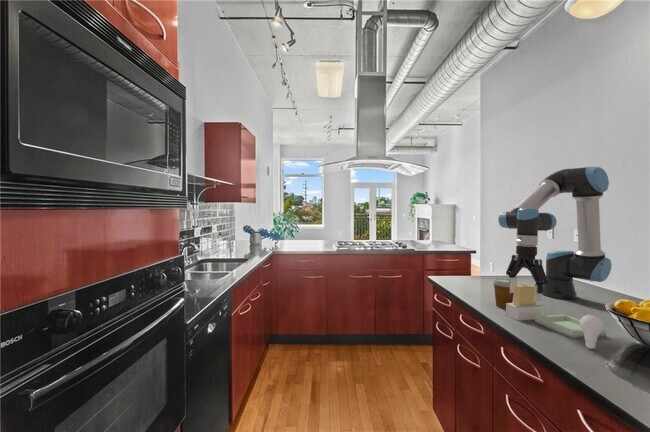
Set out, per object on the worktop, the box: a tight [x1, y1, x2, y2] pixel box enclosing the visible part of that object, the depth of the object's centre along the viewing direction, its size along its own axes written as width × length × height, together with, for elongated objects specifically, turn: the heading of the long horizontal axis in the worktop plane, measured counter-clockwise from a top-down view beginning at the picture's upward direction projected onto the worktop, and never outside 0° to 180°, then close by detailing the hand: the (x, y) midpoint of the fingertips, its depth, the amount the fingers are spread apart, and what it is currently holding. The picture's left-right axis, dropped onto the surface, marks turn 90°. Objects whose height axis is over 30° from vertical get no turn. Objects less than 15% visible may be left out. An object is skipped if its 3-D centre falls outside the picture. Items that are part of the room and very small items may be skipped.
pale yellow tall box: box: [513, 284, 537, 306], centre depth 145 cm, size 8×3×13 cm, turn 101°
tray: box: [534, 314, 607, 339], centre depth 132 cm, size 14×17×2 cm
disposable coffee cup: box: [492, 277, 514, 309], centre depth 160 cm, size 10×10×12 cm
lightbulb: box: [579, 314, 604, 350], centre depth 113 cm, size 6×6×11 cm
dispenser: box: [505, 302, 545, 321], centre depth 145 cm, size 12×7×6 cm, turn 101°
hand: (524, 296), depth 145 cm, fingers open, 13 cm apart
